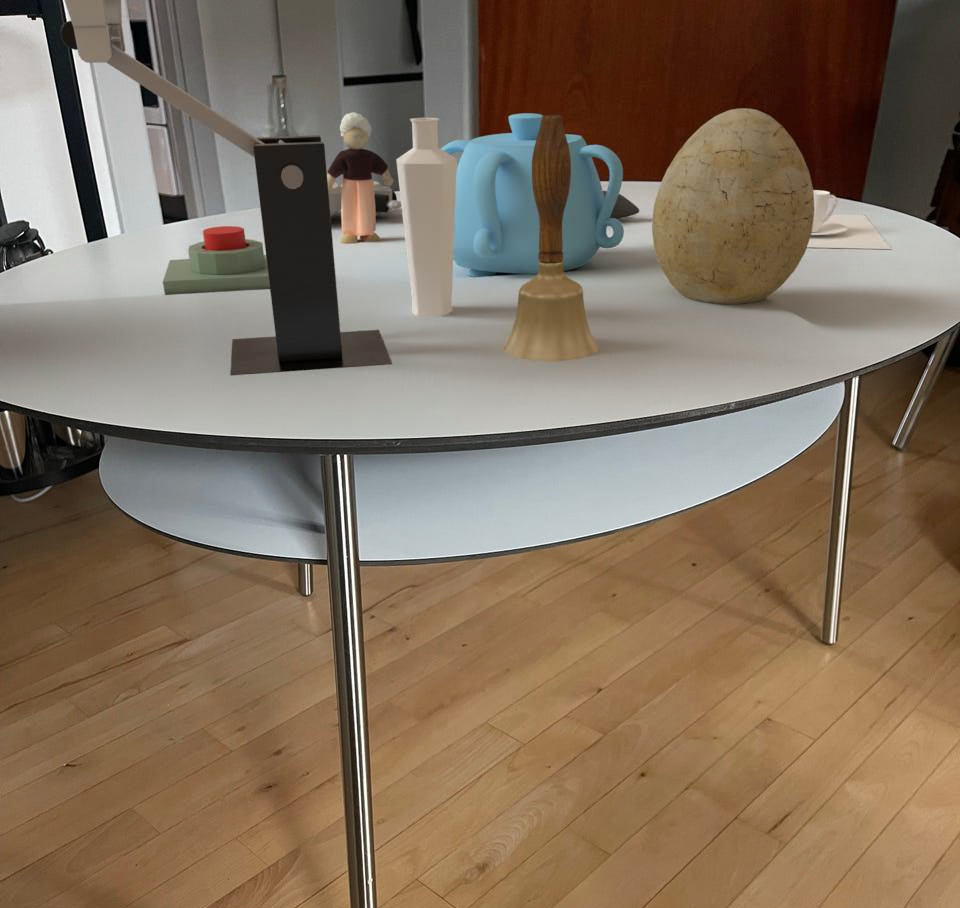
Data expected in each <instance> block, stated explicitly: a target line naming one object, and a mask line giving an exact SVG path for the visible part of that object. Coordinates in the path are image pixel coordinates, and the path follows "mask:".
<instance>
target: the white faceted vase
mask: <svg viewBox="0 0 960 908" xmlns="http://www.w3.org/2000/svg"><path fill="white" fill-rule="evenodd" d="M409 121H410V122H411V132H412V133H411V135H412V148H411V149H409V150H407V151H406V152H405V153H403V154H402V155H400V156H399V157H397V158H396V159H395V160H396V168H397V170H396V171H397V177H398V178H397V179H398V186H399V196H400V202H401V206H402V207H401V215H402V222H403V223H402V224H403V232H404V241H405V242H404V243H405V250H406V257H407V267H408V277H409V284H410V292H411V302H412V303H411V304H412V307H411V312H412V313H413V314H414V315H415V316H416V317H444V316H446V315H448V314H450V313H451V312H453V305H452V298H453V272H454V260H453V250H454V225H455V199H456V173H457V167H458V158H456V157H454V156H453V155H452V154H451V155H450V154H448V153H446V152H445V151H443V150H441V149H442V148H440V147H439V132H438V122H439V121H440V118H439V117H413V118H409Z"/></svg>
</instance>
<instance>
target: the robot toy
mask: <svg viewBox="0 0 960 908" xmlns="http://www.w3.org/2000/svg"><path fill="white" fill-rule="evenodd" d="M373 183H374V195H375V210H376V216H377V217H378V216H380V215H381V214H382V213H384V214H386V213H389V211H392V210H398V209H400V208H402V206H401V200H398V198H397V194H396V192H395V191H394V190H393V189H392V188H391V187H390V186H383V185H382V184H381V183H380V181H379V182H378V181H375V180H373ZM341 196H342V183H341V184H339V183H337V182H335V183H334V184H333V189H332V191H331V192H329V205H330V216H336V215H337V214H338V213H340V212H341Z"/></svg>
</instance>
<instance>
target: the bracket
mask: <svg viewBox="0 0 960 908" xmlns="http://www.w3.org/2000/svg"><path fill="white" fill-rule="evenodd" d="M254 137H255V136H254ZM255 138H257V139H258V140H260V141H262V142H263V143H265V144H254V145H253V149H254V157H255V158H254V157H253V158H254V165H255V172H256V183H257V190H258V191H257V192H258V199H259V208H260V216H261V223H262V231H263V241H264V251H265V255H266V259H267V267H268V275H269V284H270V289H269V292H270V301H271V307H272V317H273V325H274V333H275V336H262V337H261V336H260V337H245V338H244V337H243V338H233V339H232V340H231V356H230V369H229V370H230V371H229V376H243V375H259V374H272V373H286V372H301V371H315V370H329V369H331V370H332V369H343V368H344V369H345V368H357V367H358V368H359V367H374V366H375V367H376V366H388V365H393V362H392V359H391V356H390V353H389V351H388V349H387V346H386V344H385V341H384V338H383V336H382V334H381V331H380V329H370V330H369V329H368V330H367V329H366V330H354V331H341V324H340V312H339V301H338V300H339V299H338V289H337V276H336V265H335V264H336V263H335V255H334V242H333V229H332V220H331V219H332V218H331V215H330V205H329V193H328V181H327V174H328V169H327V159H326V149H325V143H324V141H322V137H321V135H320V134H314V135H288V136H261V137H260V136H258V137H257V136H256V137H255ZM279 140H282V141H283V142H285V143H278V142H279Z"/></svg>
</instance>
